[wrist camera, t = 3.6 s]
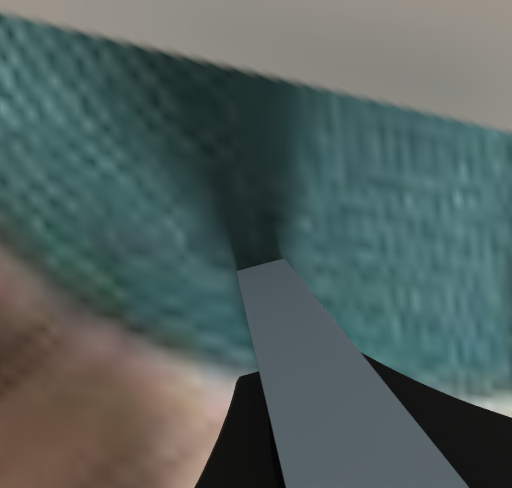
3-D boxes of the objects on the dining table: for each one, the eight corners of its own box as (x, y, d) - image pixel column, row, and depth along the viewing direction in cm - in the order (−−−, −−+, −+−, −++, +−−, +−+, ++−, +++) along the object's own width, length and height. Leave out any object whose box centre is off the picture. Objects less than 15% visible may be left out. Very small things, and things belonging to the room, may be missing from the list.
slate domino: (316, 393, 13) (519, 832, 5) (272, 406, 13) (391, 880, 4) (284, 258, 12) (470, 488, 3) (236, 271, 12) (298, 541, 3)
